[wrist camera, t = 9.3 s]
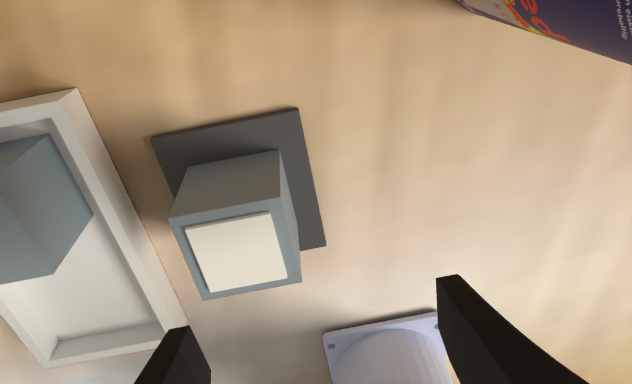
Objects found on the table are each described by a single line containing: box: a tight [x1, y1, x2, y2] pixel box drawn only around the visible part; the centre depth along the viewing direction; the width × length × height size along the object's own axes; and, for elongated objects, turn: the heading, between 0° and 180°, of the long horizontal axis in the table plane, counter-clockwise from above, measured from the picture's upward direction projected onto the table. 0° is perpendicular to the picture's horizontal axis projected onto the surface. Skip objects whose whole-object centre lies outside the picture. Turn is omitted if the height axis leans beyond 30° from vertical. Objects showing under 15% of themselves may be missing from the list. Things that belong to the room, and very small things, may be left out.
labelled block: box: [167, 149, 302, 301], centre depth 19 cm, size 4×4×5 cm
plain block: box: [0, 133, 94, 285], centre depth 18 cm, size 4×4×4 cm
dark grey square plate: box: [150, 108, 326, 251], centre depth 22 cm, size 8×7×1 cm
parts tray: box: [0, 88, 188, 369], centre depth 21 cm, size 15×8×2 cm, turn 10°
